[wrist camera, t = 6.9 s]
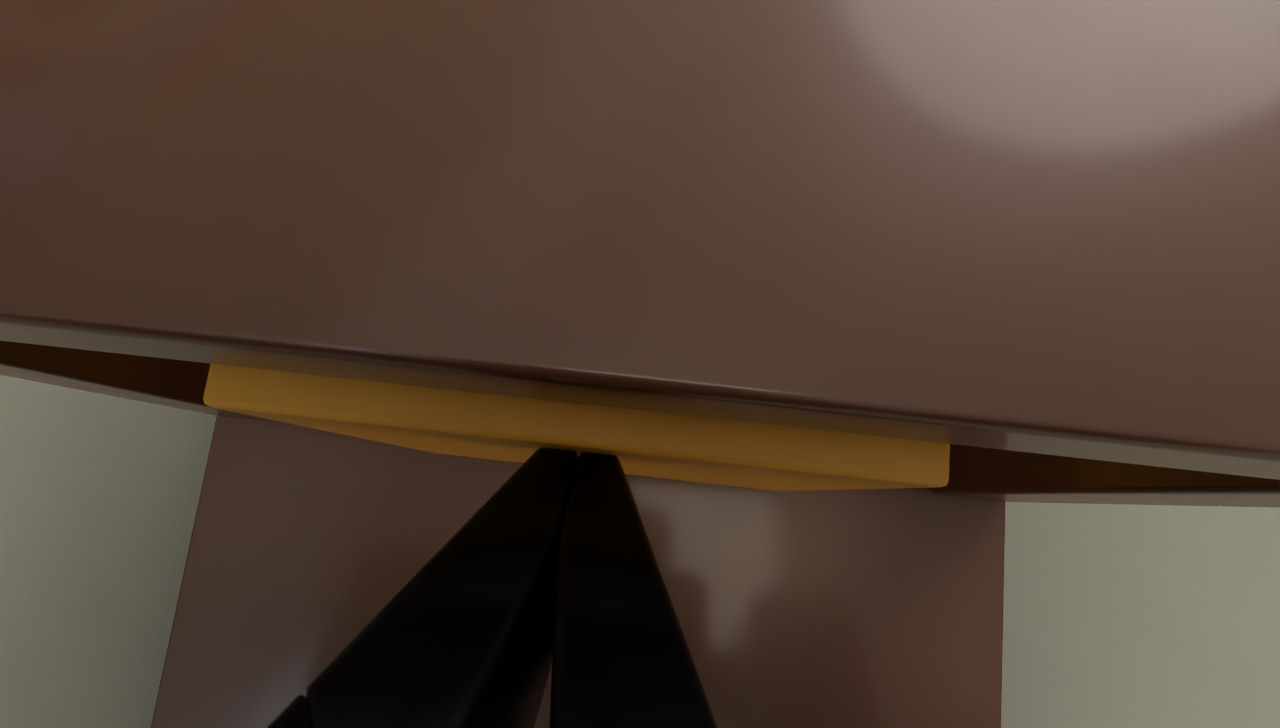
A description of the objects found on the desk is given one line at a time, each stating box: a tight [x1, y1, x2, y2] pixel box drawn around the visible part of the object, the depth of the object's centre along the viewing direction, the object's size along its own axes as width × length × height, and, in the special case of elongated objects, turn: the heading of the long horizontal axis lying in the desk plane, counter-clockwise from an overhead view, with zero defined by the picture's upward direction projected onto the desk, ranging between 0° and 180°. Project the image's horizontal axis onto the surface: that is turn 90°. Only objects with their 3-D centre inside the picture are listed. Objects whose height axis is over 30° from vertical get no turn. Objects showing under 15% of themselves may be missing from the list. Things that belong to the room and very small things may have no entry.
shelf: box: [0, 0, 1280, 728], centre depth 11 cm, size 22×16×11 cm
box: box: [203, 364, 950, 491], centre depth 12 cm, size 10×7×8 cm
